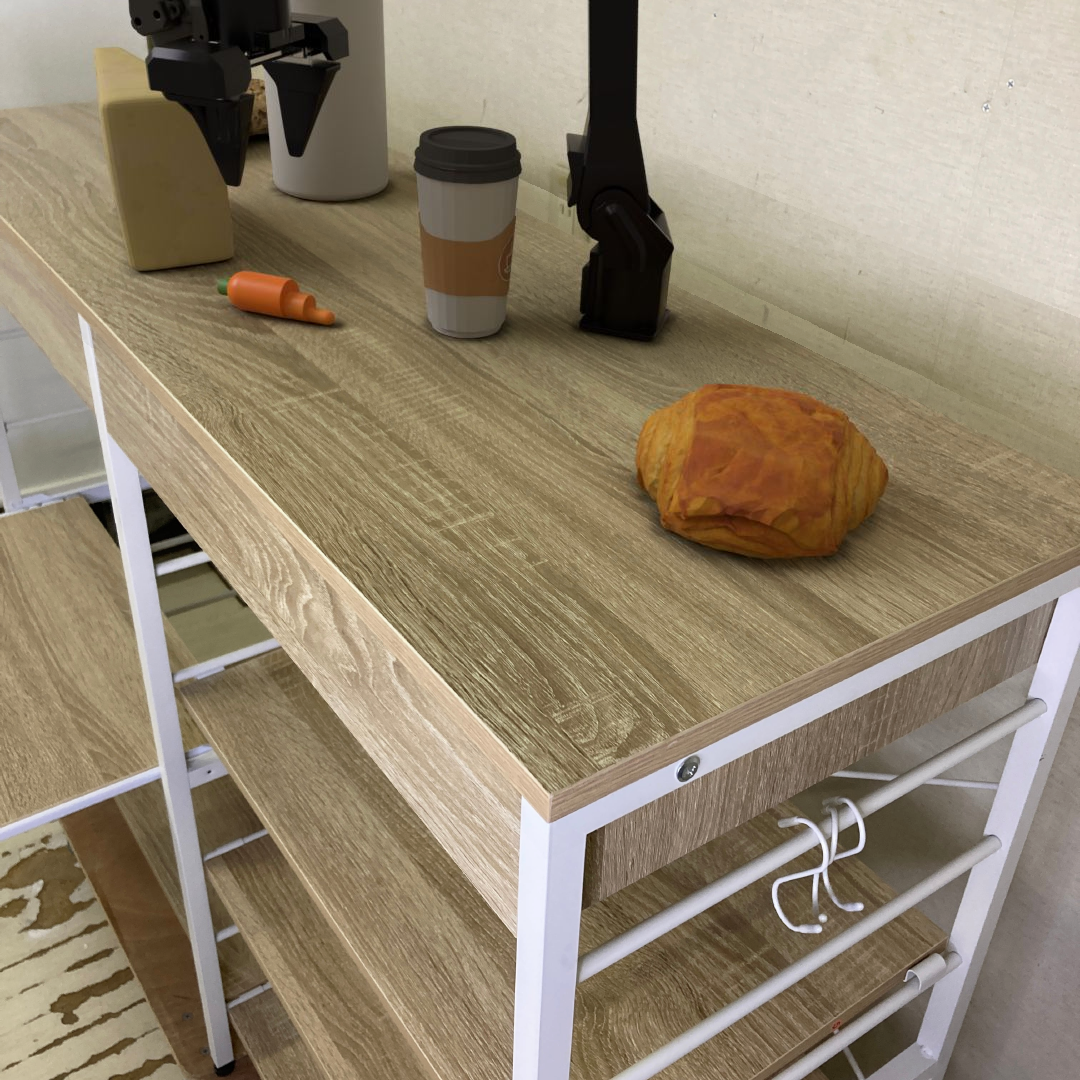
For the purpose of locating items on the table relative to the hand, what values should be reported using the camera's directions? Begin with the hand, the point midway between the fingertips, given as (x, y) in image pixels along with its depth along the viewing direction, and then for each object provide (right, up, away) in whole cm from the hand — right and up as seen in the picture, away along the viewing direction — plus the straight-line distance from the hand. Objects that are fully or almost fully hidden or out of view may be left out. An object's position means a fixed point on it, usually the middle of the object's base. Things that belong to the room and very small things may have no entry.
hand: (265, 170), depth 86 cm
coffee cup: (+15, -11, +5) cm, 20 cm away
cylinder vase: (-2, +10, +35) cm, 37 cm away
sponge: (-17, +19, +47) cm, 54 cm away
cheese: (-16, +1, +20) cm, 26 cm away
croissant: (+35, -27, -17) cm, 47 cm away
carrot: (0, -10, +5) cm, 11 cm away
